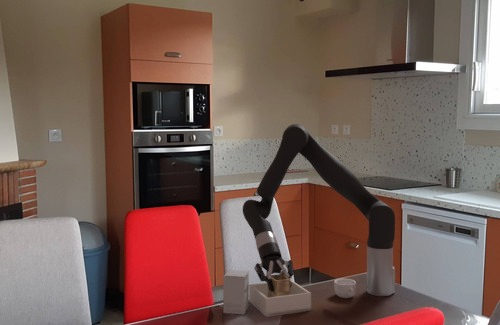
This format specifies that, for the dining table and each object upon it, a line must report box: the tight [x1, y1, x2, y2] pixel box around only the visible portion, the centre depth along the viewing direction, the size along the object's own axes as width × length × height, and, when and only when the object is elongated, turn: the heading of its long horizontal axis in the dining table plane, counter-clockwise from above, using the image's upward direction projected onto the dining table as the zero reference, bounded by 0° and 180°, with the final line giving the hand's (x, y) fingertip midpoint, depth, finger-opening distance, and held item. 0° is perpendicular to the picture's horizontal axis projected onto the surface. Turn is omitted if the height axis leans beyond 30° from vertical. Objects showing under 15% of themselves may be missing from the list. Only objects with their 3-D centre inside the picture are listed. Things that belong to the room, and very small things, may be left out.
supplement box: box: [222, 269, 250, 315], centre depth 168 cm, size 7×7×13 cm
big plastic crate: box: [249, 279, 312, 318], centre depth 172 cm, size 16×16×6 cm
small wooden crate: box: [268, 273, 291, 298], centre depth 172 cm, size 6×6×8 cm
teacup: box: [333, 278, 357, 299], centre depth 180 cm, size 10×8×5 cm
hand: (281, 289), depth 170 cm, fingers closed on small wooden crate, 5 cm apart
